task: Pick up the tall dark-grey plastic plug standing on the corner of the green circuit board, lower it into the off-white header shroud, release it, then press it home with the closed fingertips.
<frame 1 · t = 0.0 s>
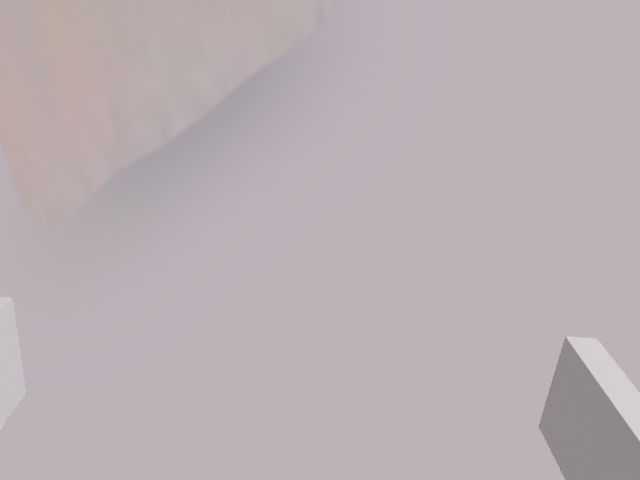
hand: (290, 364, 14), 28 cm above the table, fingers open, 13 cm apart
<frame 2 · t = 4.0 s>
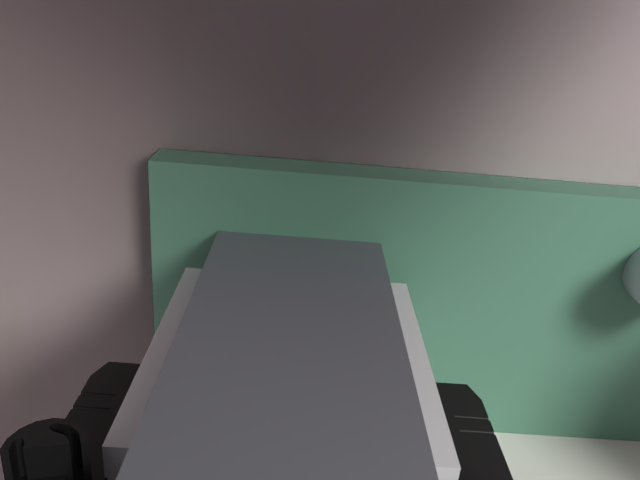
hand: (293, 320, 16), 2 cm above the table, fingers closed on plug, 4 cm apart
plug: (294, 307, 17), point 1 cm above the table, touching board, gripper
board: (403, 425, 20), on the table
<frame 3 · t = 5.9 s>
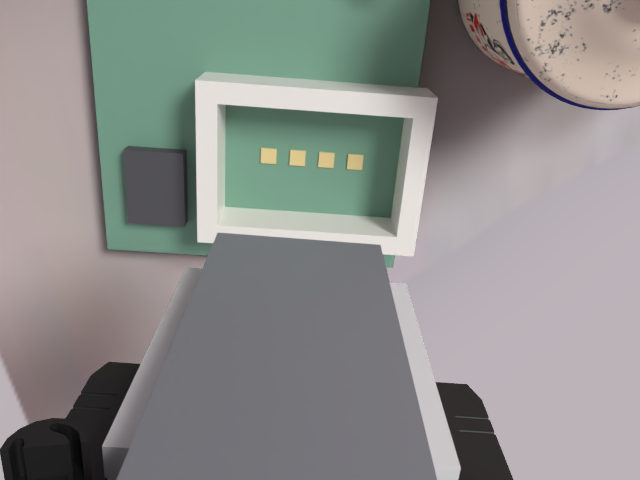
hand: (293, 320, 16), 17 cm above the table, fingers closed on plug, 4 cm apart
plug: (294, 309, 17), point 16 cm above the table, touching gripper
header: (312, 152, 31), resting on board
board: (258, 91, 30), on the table
when the fingers open (4 cm above the table, at t = 8.0 s): plug drops 2 cm, resting on header.
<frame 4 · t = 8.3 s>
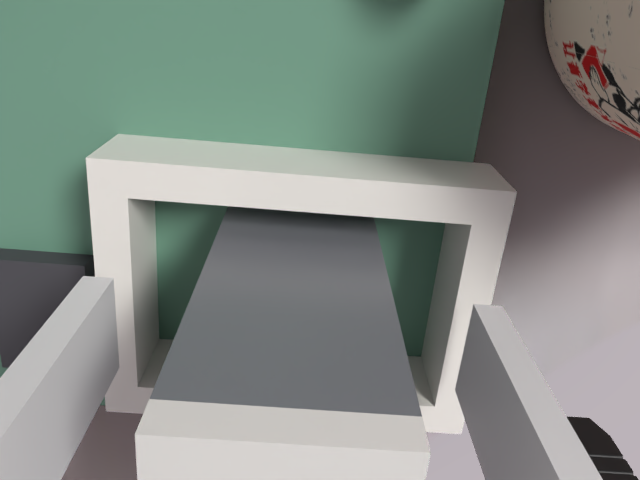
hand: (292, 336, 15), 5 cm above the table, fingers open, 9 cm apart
plug: (296, 272, 19), point 1 cm above the table, touching header
header: (298, 254, 20), resting on board
board: (210, 162, 19), on the table
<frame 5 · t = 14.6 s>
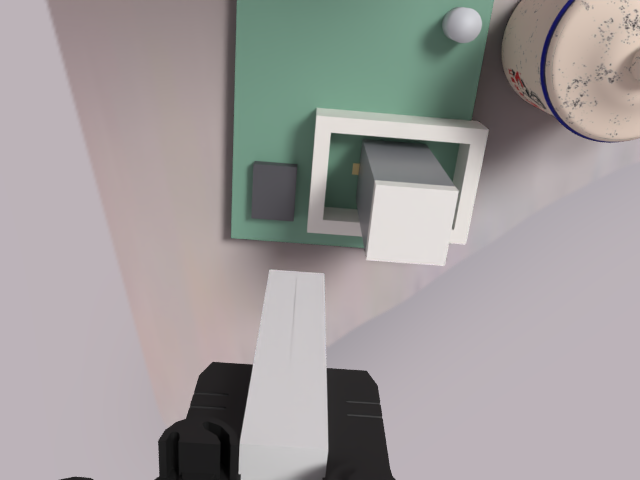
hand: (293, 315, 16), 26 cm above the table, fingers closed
plug: (390, 172, 41), point 1 cm above the table, touching header
header: (388, 166, 42), resting on board
board: (351, 121, 40), on the table
teacup with lid: (583, 50, 39), on the table
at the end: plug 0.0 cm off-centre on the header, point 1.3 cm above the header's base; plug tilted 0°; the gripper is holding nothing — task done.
